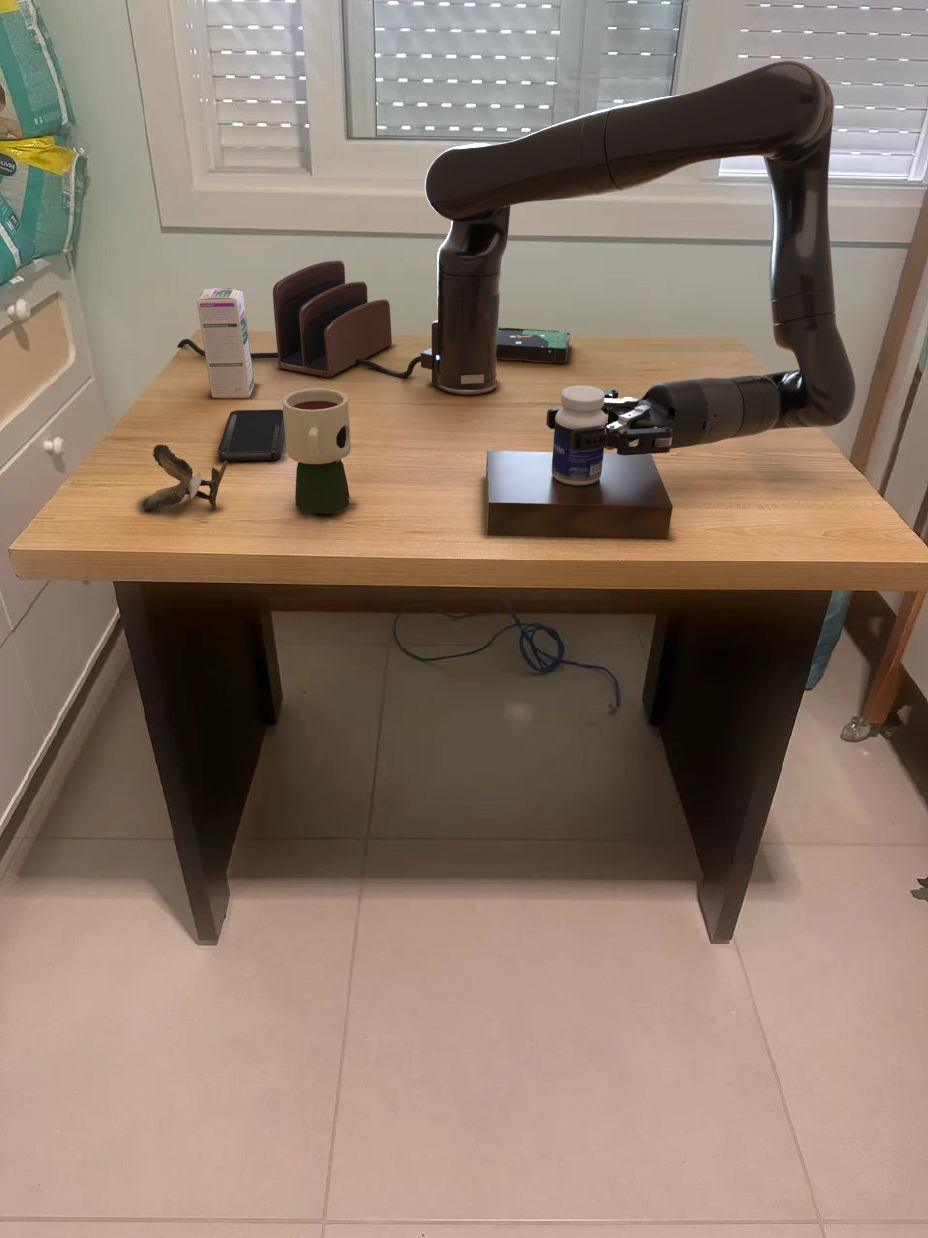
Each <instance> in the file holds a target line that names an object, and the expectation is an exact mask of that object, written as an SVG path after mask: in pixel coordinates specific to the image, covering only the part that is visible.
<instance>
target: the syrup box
mask: <svg viewBox="0 0 928 1238" xmlns="http://www.w3.org/2000/svg"><path fill="white" fill-rule="evenodd" d="M196 305H197V311H198V318H199V324H200V331H201V332H200V333H201V337H202V344H203V351H205V357H204V358H205V362H206V369H207V374H208V381H209V387H210V392H211V393H210V394H211V397H212V398H215V399H247V398H248V399H249V398H250V397H251V394H252V392H253V390H254V387H255V383H256V382H255V377H254V376H255V375H254V368H253V362H252V361H253V359H251V353H252V352H251V345H250V338H249V330H248V323H247V316H246V308H245V300H244V293H243V289H242V288H237V287H235V288H234V287H233V288H232V287H213V288H203V291H202V293H200V295H199V296H198V298H197V299H196Z"/></svg>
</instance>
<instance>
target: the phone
mask: <svg viewBox="0 0 928 1238" xmlns="http://www.w3.org/2000/svg"><path fill="white" fill-rule="evenodd" d="M222 434H223V435H222V437H221V440H220V443H219V446H218V448H217V453H218V459H219V461H220V462H223V463H224V462H225V461H227V463H229V462H230V463H231V462H235V463H236V462H273V461H277V460H280V459H281V457H282V452H283V447H284V442H285V427H284V417H283V409H235V410H233V411H231V412H230V413H229V415H228V418H227V421H226V425H225V427H224V431H223V433H222Z"/></svg>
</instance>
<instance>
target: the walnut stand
mask: <svg viewBox="0 0 928 1238" xmlns="http://www.w3.org/2000/svg"><path fill="white" fill-rule="evenodd" d="M552 457H553V451H525V450H524V451H521V450H486V459H485V460H486V462H485V463H486V464H485V505H486V532H487V533H486V534H487V536H521V537H522V536H527V537H528V536H529V537H569V538H570V537H572V538H573V537H575V538H577V537H578V538H615V539H616V538H617V539H620V538H621V539H622V538H623V539H662V540H667V539H668V537H669V531H670V526H671V521H672V514H673V508H674V506H673V503H672V501H671V499H670V496H669V493H668V492H667V489H666V487H665V484H664V482H663V480H662V477H661V475H660V472H659V469H658V467H657V465H656V462H655V460H654V458H653V454H638V455H619V454H617V452H616V453H613V452H607V453H606V452H604V453H603V463H602V472H601V476H600V478H599V479H598V480H597V481H596V482H594V483H592V484H589V485H582V486H577V485H569V484H565V483H562V482H560V481H558V480H557V479H555V478H554V477H553V475H552Z"/></svg>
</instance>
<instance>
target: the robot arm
mask: <svg viewBox="0 0 928 1238" xmlns="http://www.w3.org/2000/svg"><path fill="white" fill-rule="evenodd" d="M834 112H835V100H834V94H833V92H832V89H831V87H830V85H829V84H828V82H827V81H826V79H825V78H824V77H823V76H822V75H821V74H819V73H818V72H817V71H815V70H814V69H813V68H812V67H810V66H809V65H806V64H805V63H802V62H799V61H794V60H793V61H792V60H782V61H777V62H772V63H769V64H767V65H763V66H761V67H758V68H756V69H753V70H751V71H748V72H746V73H742V74H740V75H738V76H735V77H732V78H729V79H727V80H723V81H721V82H718V83H716V84H713V85H711V86H708V87H705V88H702V89H698V90H695V91H691V92H688V93H683V94H677V95H670V96H664V97H657V98H652V99H648V100H642V101H637V102H633V103H628V104H622V105H618V106H617V105H616V106H615V107H610V108H604V109H601V110H598V111H594V112H589V113H587V114H584V115H581V116H578V117H575V118H571V119H568V120H565V121H563V122H560V123H557V124H554V125H551V126H548V127H546V128H543V129H541V130H538V131H536V132H533V133H530V134H528V135H526V136H523V137H519V138H518V139H515V140H511V141H508V142H507V141H506V142H502V143H497V144H495V143H494V144H489V143H482V142H480V143H472V144H466V145H461V146H454V147H451V148H449V149H447V150H445V151H443V152H442V153H440V154H439V155H438V156H437V157H436V158H435V159H434V160H433V162H432V163H431V165H430V166H429V168H428V170H427V174H426V176H425V182H424V191H425V197H426V199H427V201H428V203H429V205H430V207H431V208H432V209H433V210H434V211H435V212H436V213H437V214H438V215H439V216H441V217H442V218H444V219H446V220H449V221H451V226H450V230H449V232H448V234H447V236H446V238H445V240H444V241H443V242H442V244H441V245H440V246H439V248H438V251H437V261H436V262H437V265H436V267H437V274H436V278H437V281H436V282H437V283H436V284H437V288H436V289H437V291H436V292H437V293H436V294H437V295H436V296H437V297H436V298H437V299H436V305H437V306H436V309H437V310H436V312H437V313H436V314H437V316H436V318H437V319H436V320H434V321H433V322H432V323H431V347H430V348H428V349H425V350H423V351H422V352H420V355H419V356H417V357H414V358H413V359H412V360H411V361H409V363H408V366H407V369H406V371H404V372H400V373H399V372H393V371H391V370H388V369H387V368H385V367H383V366H381V365H380V364H377V363H376V362H373V361H371V360H368V359H360V358H357V359H356V363H357V364H358V365H361V366H366V367H368V368H369V367H370V368H372V369H373V370H376V371H377V372H380V373H381V374H385V375H389V376H393V377H395V378H400V379H406V378H408V377H410V376H411V375H412V374H413V372H414V369H415V366H416V365H417V364H418V363H420V368H422V369H426V370H431V385H432V386H436V387H437V388H438V389H440V390H441V391H444V392H446V393H450V394H455V395H462V396H464V395H465V396H467V395H468V396H473V395H474V396H475V395H481V394H485V393H489V392H491V391H494V390H495V389H496V388H497V386H498V380H497V376H498V372H497V369H498V359H497V350H498V327H500V325H499V321H500V299H501V277H502V276H501V274H502V271H501V270H502V261H503V256H504V253H505V251H506V248H507V246H508V240H509V228H510V217H511V206H515V205H519V204H524V203H533V202H547V201H548V202H549V201H560V200H561V201H562V200H570V199H571V200H572V199H579V198H585V197H586V198H587V197H594V196H600V195H601V196H602V195H605V194H611V193H616V192H621V191H626V190H630V189H635V188H637V187H641V186H643V185H646V184H649V183H652V182H653V181H654V182H655V181H656V180H659V179H661V178H663V177H665V176H668V175H669V174H671V173H674V172H676V171H679V170H680V169H682V168H685V167H688V166H690V165H694V164H697V163H702V162H707V161H713V160H714V161H715V160H722V159H728V158H729V159H730V158H738V157H763V161H764V165H765V168H766V173H767V178H768V181H769V186H770V193H771V203H772V234H771V246H770V255H769V269H768V273H769V274H768V283H769V285H768V286H769V287H768V288H769V301H770V310H771V323H772V333H773V339H774V343H775V344H776V346H777V347H778V348H780V349H782V350H785V351H789V352H791V353H793V355H794V356H795V359H796V362H797V365H798V369H790V370H784V371H778V372H772V373H767V374H762V375H761V374H748V375H737V376H729V377H700V378H699V377H698V378H692V379H691V378H690V379H683V380H675V381H666V382H658V383H655V384H652V386H650V388H648V390H647V391H646V392H645V394H644V395H643V396H642V397H641V398H638V397H633V396H629V397H628V396H625V397H623V398H619V394H620V393H619V390H617V389H615V388H613V389H607V390H602V391H603V392H604V394H605V398H604V406H603V407H602V408H601V410H602V411H603V412H604V414H605V415H606V416H607V424H606V429H605V427H604V426H594V427H586V428H579V429H574V430H573V431H572V432H571V441H570V446H571V448H573V449H574V450H584V449H591V448H599V447H603V446H604V450H605V449H606V450H608V451H612V450H616V454H619V455H638V454H651V455H653V454H667V453H670V452H671V450H673V449H679V448H687V447H694V446H701V445H707V444H708V445H710V444H714V443H718V442H721V441H725V440H729V439H736V438H743V437H749V436H750V437H751V436H755V435H759V434H763V433H765V432H768V431H771V430H772V431H773V430H783V429H795V428H796V429H797V428H798V429H801V428H828V427H829V428H830V427H832V426H836V425H839V424H840V423H842V422H843V421H844V420H845V419H847V418H848V416H849V414H850V413H851V410H852V408H853V406H854V402H855V400H856V399H855V398H856V391H857V389H856V388H857V387H856V379H855V378H856V377H855V374H854V371H853V368H852V364H851V362H850V358H849V356H848V352H847V350H846V347H845V343H844V341H843V339H842V336H841V334H840V331H839V329H838V326H837V314H836V299H835V298H836V297H835V289H834V287H835V284H834V274H833V262H832V250H831V237H830V225H829V224H830V221H829V170H830V157H831V145H832V133H833V123H834ZM186 345H188V346H189V347H190V348H191V349H192V350H193V351H194V352H196V354H198V355H200V356H202V357H204V358H206V357H205V351H204V349H202V348H201V347H199V346H198V344H196V343H195V342H194V341H193V340H191V339H189V338H184V339H182V340H181V341H179V342H178V344H177V346H176V347H177V348H178V349H183V348H184V347H185V346H186ZM255 359H257V360H258V359H278V352H251V360H255ZM357 364H356V365H357ZM561 408H563V406H559V407H551V408H549V409H547V412H546V423H545V424H546V426H547V427H548V428H549V429H550V430H554V429H555V417H556V414H557V412H558V411H559V410H560V409H561ZM636 444H637V445H636Z"/></svg>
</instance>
